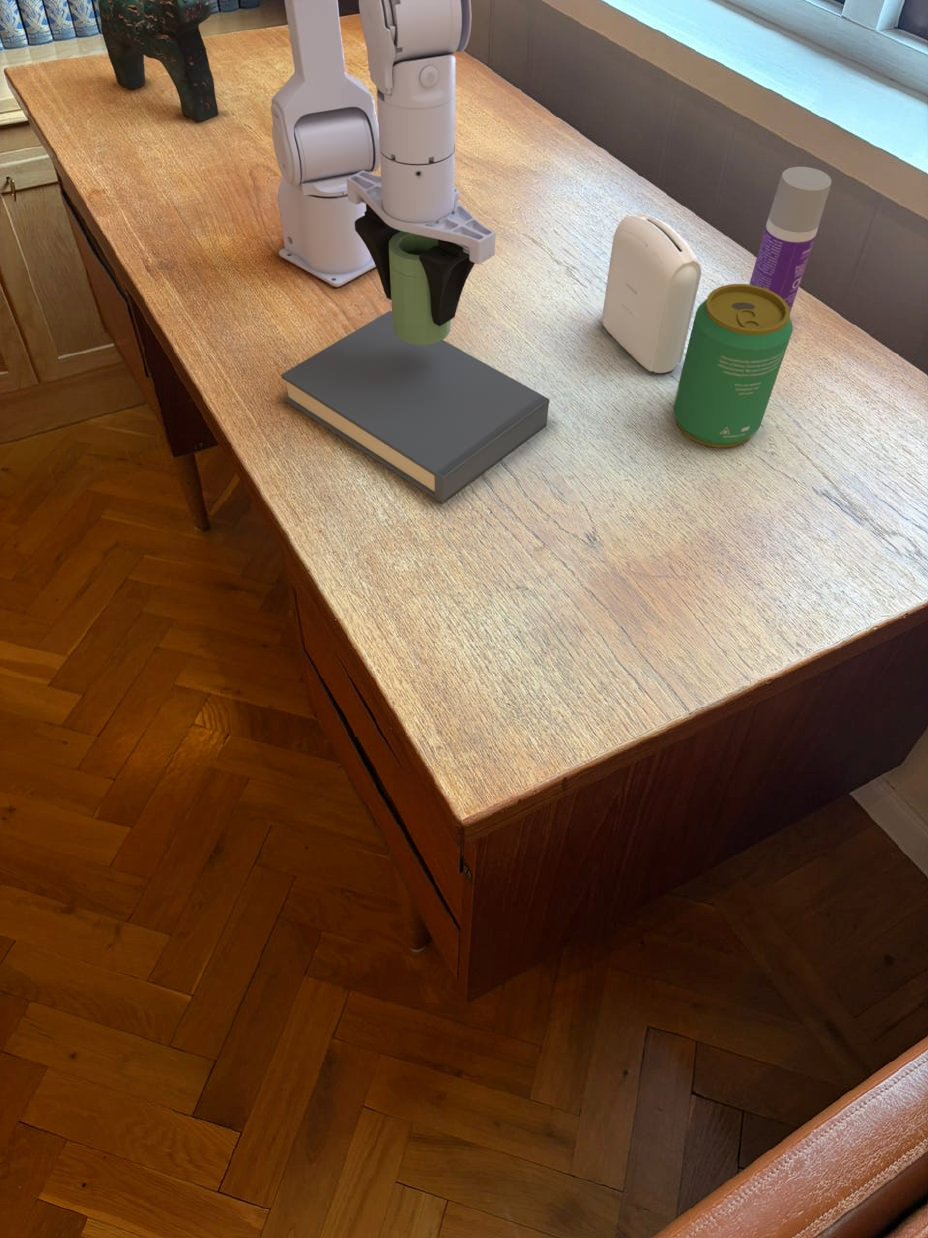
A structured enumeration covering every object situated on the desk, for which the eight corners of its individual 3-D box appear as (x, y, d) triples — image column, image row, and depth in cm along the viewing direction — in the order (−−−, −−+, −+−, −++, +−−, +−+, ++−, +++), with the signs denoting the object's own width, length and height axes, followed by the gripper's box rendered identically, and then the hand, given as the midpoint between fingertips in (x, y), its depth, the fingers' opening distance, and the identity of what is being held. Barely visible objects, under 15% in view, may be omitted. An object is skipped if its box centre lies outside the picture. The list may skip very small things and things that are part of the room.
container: (785, 338, 95) (834, 193, 83) (739, 332, 95) (780, 187, 83) (785, 312, 98) (832, 168, 86) (739, 306, 98) (780, 162, 86)
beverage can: (748, 394, 89) (784, 279, 79) (767, 450, 84) (808, 335, 74) (664, 394, 89) (691, 279, 79) (678, 450, 84) (708, 335, 74)
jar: (380, 329, 83) (375, 244, 77) (420, 305, 85) (418, 221, 79) (422, 352, 81) (421, 267, 75) (462, 327, 83) (463, 242, 77)
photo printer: (594, 323, 96) (611, 205, 86) (630, 313, 97) (650, 196, 87) (649, 379, 90) (674, 261, 80) (686, 368, 91) (715, 250, 82)
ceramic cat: (233, 116, 124) (204, -65, 108) (195, 132, 121) (158, -52, 105) (140, 73, 132) (100, -101, 116) (102, 87, 129) (55, -90, 113)
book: (285, 401, 87) (280, 374, 85) (391, 336, 94) (389, 310, 91) (443, 504, 79) (442, 477, 77) (546, 425, 86) (549, 398, 83)
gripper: (525, 160, 70) (514, 320, 80) (386, 102, 76) (393, 258, 86) (461, 194, 66) (459, 356, 77) (321, 130, 72) (337, 289, 83)
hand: (420, 307), depth 81 cm, fingers closed on jar, 5 cm apart
